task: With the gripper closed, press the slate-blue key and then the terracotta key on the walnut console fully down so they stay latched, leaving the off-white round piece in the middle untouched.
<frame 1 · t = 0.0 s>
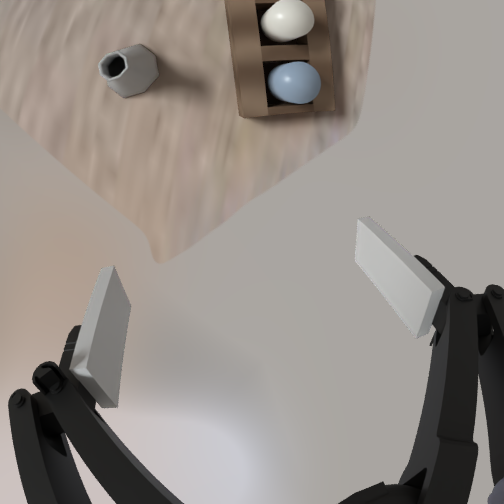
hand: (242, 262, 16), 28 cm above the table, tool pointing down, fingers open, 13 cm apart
off-white round piece: (286, 21, 27), point 6 cm above the table, slide at 0.0 cm
key slate: (292, 82, 31), point 6 cm above the table, slide at 0.0 cm
flask: (132, 70, 31), on the table
console: (273, 28, 32), on the table
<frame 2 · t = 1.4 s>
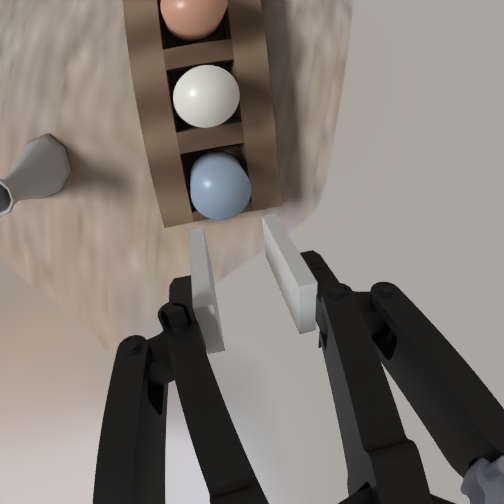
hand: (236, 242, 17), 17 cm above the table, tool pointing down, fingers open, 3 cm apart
key terracotta: (193, 10, 18), point 5 cm above the table, slide at 0.0 cm
off-white round piece: (205, 95, 22), point 5 cm above the table, slide at 0.0 cm
key slate: (218, 183, 27), point 5 cm above the table, slide at 0.0 cm
flask: (44, 165, 27), on the table
console: (202, 94, 27), on the table
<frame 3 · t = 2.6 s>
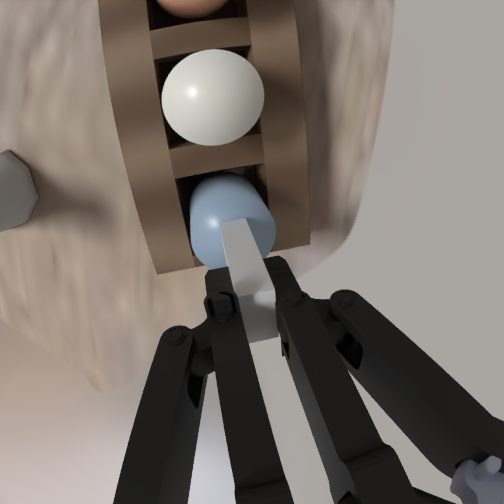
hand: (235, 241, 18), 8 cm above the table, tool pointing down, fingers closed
off-white round piece: (210, 95, 15), point 5 cm above the table, slide at 0.0 cm
key slate: (228, 219, 20), point 5 cm above the table, slide at 0.2 cm, touching gripper
flask: (7, 189, 20), on the table
console: (205, 94, 20), on the table
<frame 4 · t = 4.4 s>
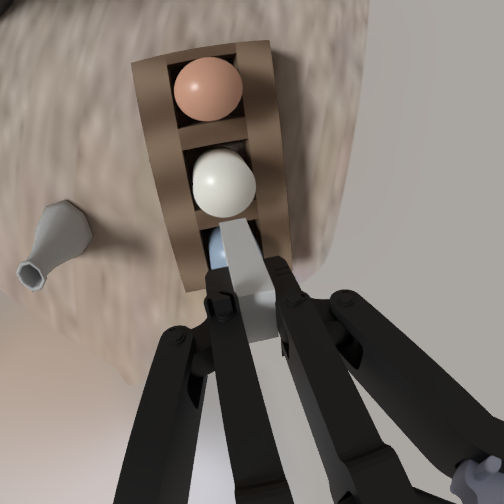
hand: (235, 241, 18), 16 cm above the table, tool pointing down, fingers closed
key terracotta: (207, 89, 22), point 6 cm above the table, slide at 0.0 cm
off-white round piece: (221, 179, 26), point 5 cm above the table, slide at 0.0 cm
key slate: (233, 250, 31), point 4 cm above the table, slide at 1.4 cm
flask: (65, 228, 30), on the table
console: (217, 165, 30), on the table
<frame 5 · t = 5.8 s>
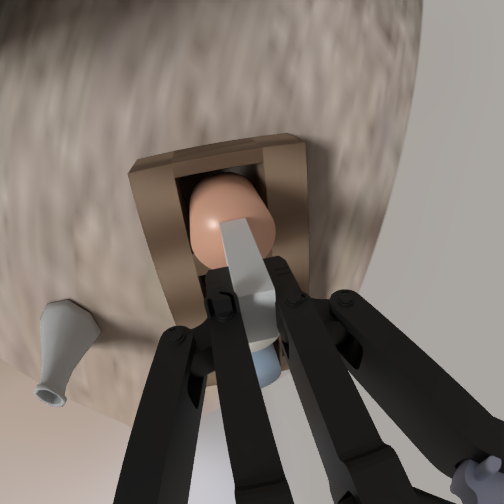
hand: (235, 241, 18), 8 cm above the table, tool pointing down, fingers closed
key terracotta: (228, 219, 20), point 5 cm above the table, slide at 0.0 cm, touching gripper
off-white round piece: (243, 309, 24), point 5 cm above the table, slide at 0.0 cm
key slate: (251, 356, 30), point 4 cm above the table, slide at 1.4 cm
flask: (70, 322, 28), on the table
console: (233, 270, 29), on the table
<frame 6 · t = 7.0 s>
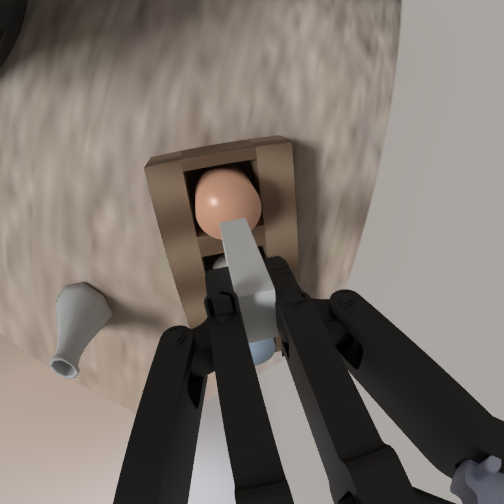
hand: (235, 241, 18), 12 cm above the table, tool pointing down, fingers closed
key terracotta: (225, 199, 25), point 4 cm above the table, slide at 1.5 cm
off-white round piece: (240, 286, 28), point 5 cm above the table, slide at 0.0 cm
key slate: (248, 335, 33), point 4 cm above the table, slide at 1.4 cm
flask: (84, 305, 32), on the table
console: (233, 256, 32), on the table
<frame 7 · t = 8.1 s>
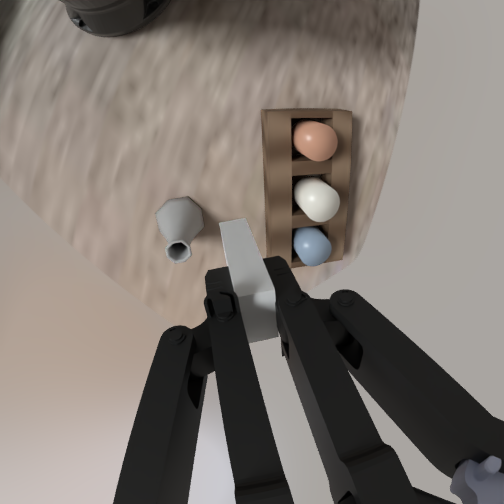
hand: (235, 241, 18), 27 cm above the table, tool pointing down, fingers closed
key terracotta: (312, 139, 38), point 4 cm above the table, slide at 1.5 cm
off-white round piece: (315, 198, 41), point 6 cm above the table, slide at 0.0 cm
key slate: (310, 243, 46), point 4 cm above the table, slide at 1.4 cm
flask: (179, 218, 45), on the table
console: (302, 185, 46), on the table
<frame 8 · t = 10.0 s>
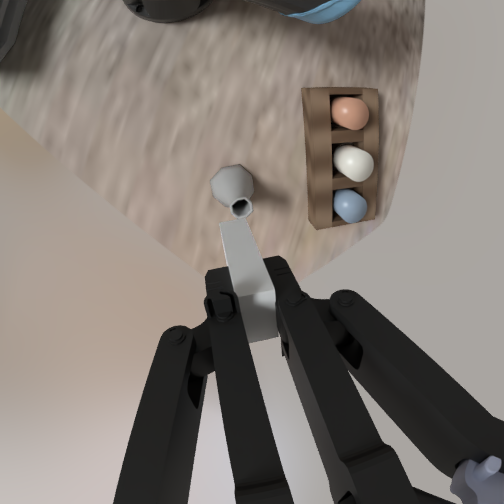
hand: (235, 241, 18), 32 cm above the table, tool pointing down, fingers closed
key terracotta: (347, 112, 42), point 4 cm above the table, slide at 1.5 cm
off-white round piece: (352, 162, 45), point 6 cm above the table, slide at 0.0 cm
key slate: (347, 204, 51), point 4 cm above the table, slide at 1.4 cm
flask: (231, 184, 50), on the table
console: (337, 154, 50), on the table
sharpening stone: (7, 15, 24), on the table
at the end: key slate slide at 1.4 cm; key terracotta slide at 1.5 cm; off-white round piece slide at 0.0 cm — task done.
